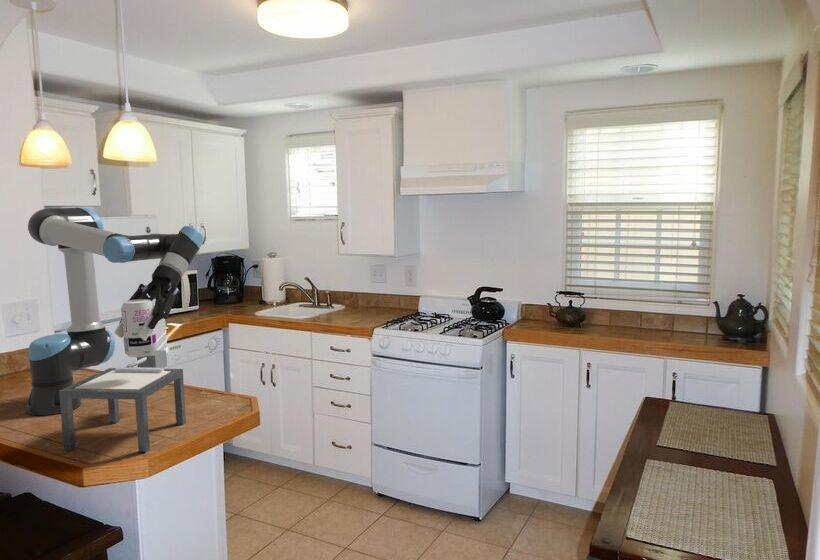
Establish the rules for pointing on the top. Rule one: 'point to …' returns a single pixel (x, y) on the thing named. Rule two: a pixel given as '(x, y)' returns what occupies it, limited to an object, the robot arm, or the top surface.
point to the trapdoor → (132, 374)
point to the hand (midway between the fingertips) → (129, 336)
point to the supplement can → (137, 327)
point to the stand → (113, 405)
